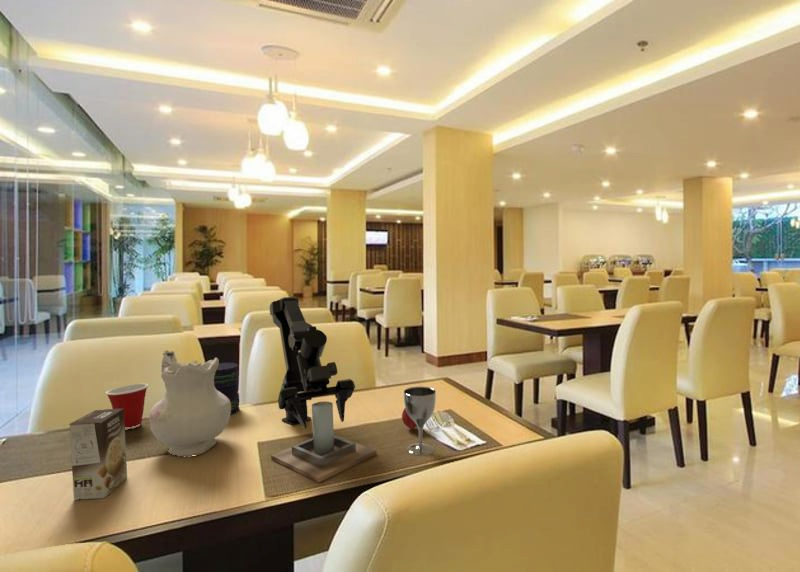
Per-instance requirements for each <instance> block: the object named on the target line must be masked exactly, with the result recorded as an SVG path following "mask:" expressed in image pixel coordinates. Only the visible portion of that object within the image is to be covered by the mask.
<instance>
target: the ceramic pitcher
mask: <svg viewBox="0 0 800 572" xmlns="http://www.w3.org/2000/svg"><path fill="white" fill-rule="evenodd" d="M162 355H163V356H162V359H161V374H160V376H161V379H162V380H163V382H164V387H165V389H166V390H165V394H164V396H163V397H162V398H161V399H159V400H158V401H157V402H156V403H155V405H153V406H152V408H151V409H150V411H149V417H148V418H149V421H148V422H149V428H150V430H151V432H152V434H153V436H154V437H155V438H156V440H158V441H159V442H160V443H162V444H163V445H166V446H168V447H169V448H170V449H169V448H168V449H169V453H170V454H169V453H168V454H169V455H171V454H172V455H171V456H175V455H177V457H180V456H185V457H187V458H190V457H189V456H192V455H196V457H198V456H197V455H199V454H201V455H203V454H204V453H206V452H207V451H208V450H210V449H211V448H213V447H214V446H215V445H217V440H216V437H218V436H220V435H221V434H222V433H223V431H224V430H225V429H226V427H227V425H228V424H229V422H230V418H231V415H230V414H231V403H230V400H229V399H228V398H227V397H226V396H225V395H224V394H222V393H221V392H219V391H217V390H216V388H215V386H214V375H215V372H216V370H217V368H218V365H219V363H220V362H219V361H220V360H219V358H218V357H214V359H210V360H208V361H206V362H204V363H202V362H198V360H193V361H190V362H188V363H187V362H185V363H181V362H179V361H178V358H177V357H176V355H175V351H173V350H171V351H170V350H165V351H163V353H162ZM202 453H203V454H202ZM199 456H200V455H199ZM185 457H184V458H185Z"/></svg>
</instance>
